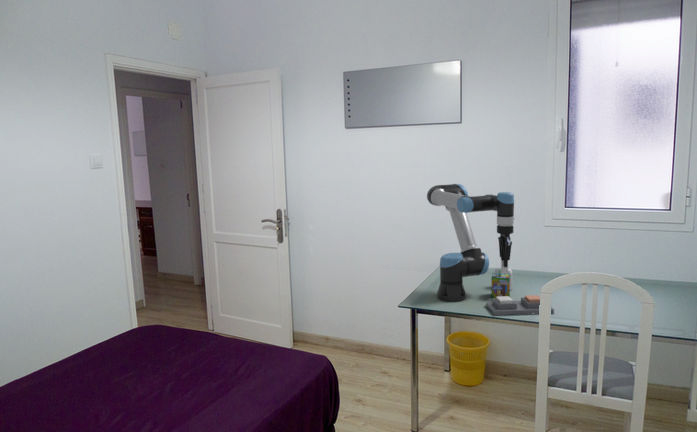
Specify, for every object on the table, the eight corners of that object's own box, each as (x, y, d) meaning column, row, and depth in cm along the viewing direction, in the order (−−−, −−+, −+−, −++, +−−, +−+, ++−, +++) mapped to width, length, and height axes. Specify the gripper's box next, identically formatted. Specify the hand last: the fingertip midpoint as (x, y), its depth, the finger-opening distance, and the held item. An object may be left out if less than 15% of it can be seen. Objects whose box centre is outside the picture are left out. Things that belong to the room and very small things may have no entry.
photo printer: (493, 287, 263) (493, 266, 261) (497, 285, 266) (497, 264, 264) (509, 291, 255) (509, 269, 254) (513, 289, 258) (514, 267, 256)
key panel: (494, 315, 219) (494, 306, 218) (485, 305, 233) (485, 297, 232) (553, 313, 219) (554, 304, 218) (541, 303, 233) (541, 295, 232)
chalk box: (509, 299, 241) (510, 272, 239) (491, 298, 244) (491, 271, 242) (510, 294, 249) (510, 267, 247) (492, 293, 253) (492, 266, 251)
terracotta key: (529, 304, 222) (529, 299, 222) (524, 300, 228) (524, 295, 228) (542, 304, 222) (542, 299, 222) (537, 300, 228) (537, 295, 228)
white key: (500, 305, 222) (500, 300, 222) (496, 301, 228) (496, 296, 228) (512, 305, 222) (512, 300, 222) (508, 301, 228) (508, 296, 228)
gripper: (518, 226, 214) (517, 276, 217) (508, 222, 227) (507, 269, 230) (501, 227, 214) (501, 277, 217) (493, 223, 227) (492, 269, 230)
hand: (504, 273), depth 224 cm, fingers closed
